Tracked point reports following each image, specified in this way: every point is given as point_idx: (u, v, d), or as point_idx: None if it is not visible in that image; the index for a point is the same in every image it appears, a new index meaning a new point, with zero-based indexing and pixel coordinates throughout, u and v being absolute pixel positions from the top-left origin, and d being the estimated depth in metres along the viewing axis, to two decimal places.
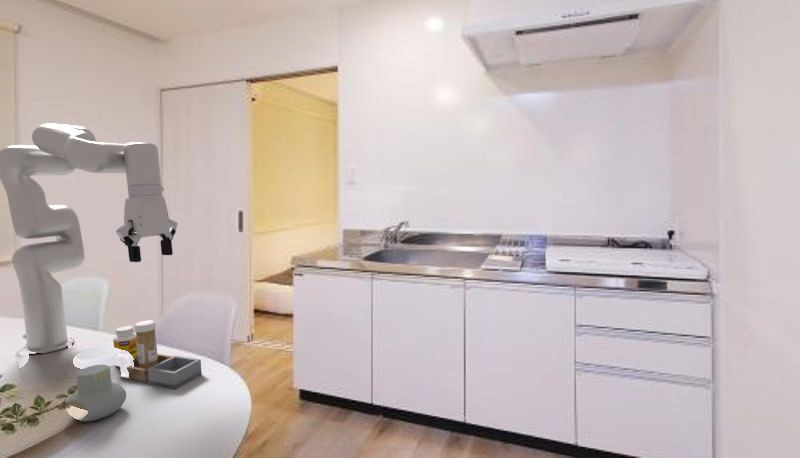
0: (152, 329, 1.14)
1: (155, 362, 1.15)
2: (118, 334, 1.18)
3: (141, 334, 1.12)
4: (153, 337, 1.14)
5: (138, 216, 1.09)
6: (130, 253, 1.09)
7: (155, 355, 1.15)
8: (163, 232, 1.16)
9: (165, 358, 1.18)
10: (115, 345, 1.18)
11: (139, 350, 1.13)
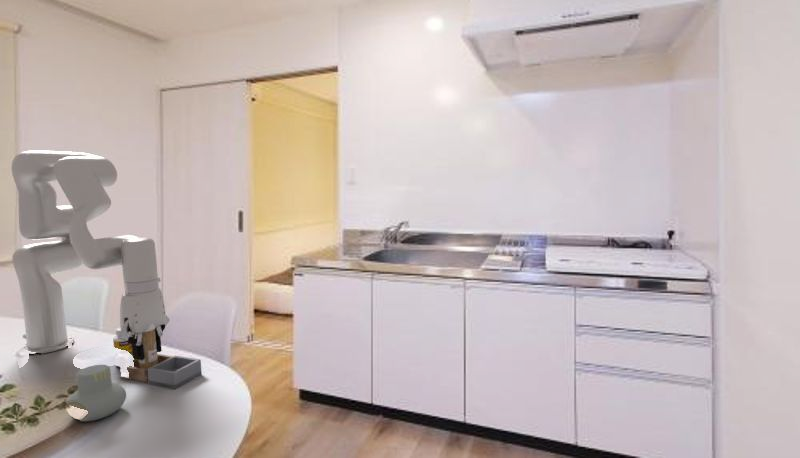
0: (152, 329, 1.14)
1: (155, 362, 1.15)
2: (118, 334, 1.18)
3: None
4: (153, 337, 1.14)
5: (134, 315, 1.09)
6: (134, 351, 1.12)
7: (155, 355, 1.15)
8: (159, 324, 1.16)
9: (165, 358, 1.18)
10: (115, 345, 1.18)
11: None
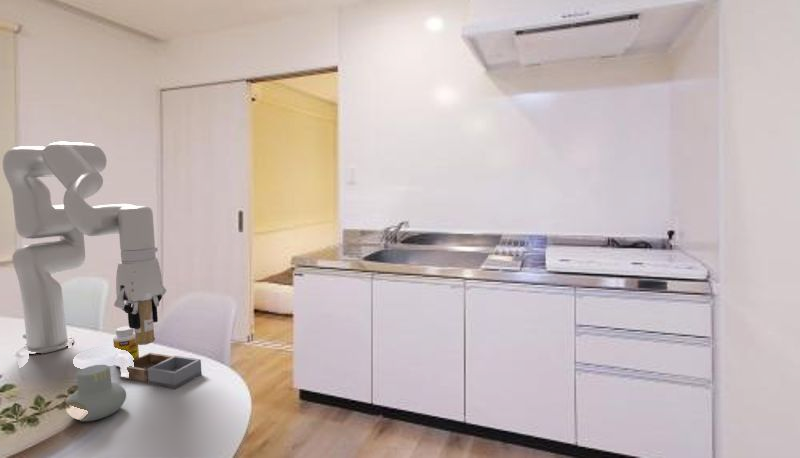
0: (149, 299, 1.13)
1: (151, 332, 1.14)
2: (118, 334, 1.18)
3: (138, 302, 1.11)
4: (149, 306, 1.14)
5: (130, 282, 1.08)
6: (130, 320, 1.11)
7: (151, 325, 1.14)
8: (155, 294, 1.15)
9: (165, 358, 1.18)
10: (115, 345, 1.18)
11: None
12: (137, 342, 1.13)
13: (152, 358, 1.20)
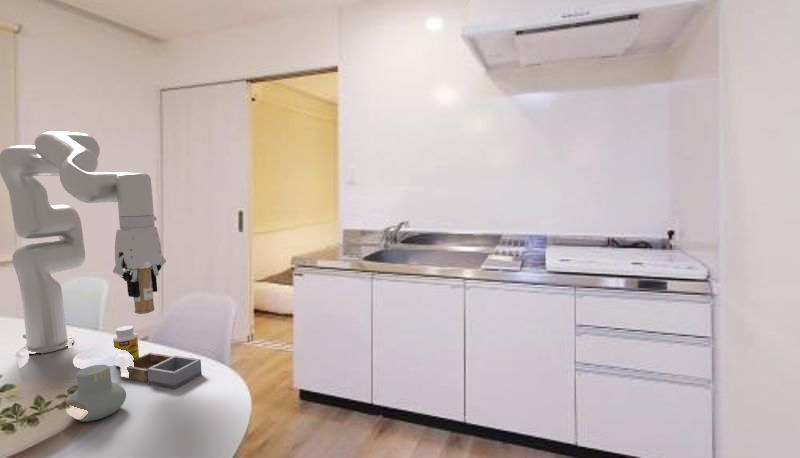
0: (148, 267, 1.12)
1: (151, 301, 1.13)
2: (118, 334, 1.18)
3: None
4: (149, 275, 1.12)
5: (129, 249, 1.07)
6: (129, 288, 1.09)
7: (151, 294, 1.13)
8: (155, 263, 1.14)
9: (165, 358, 1.18)
10: (115, 345, 1.18)
11: None
12: (136, 311, 1.12)
13: (152, 358, 1.20)
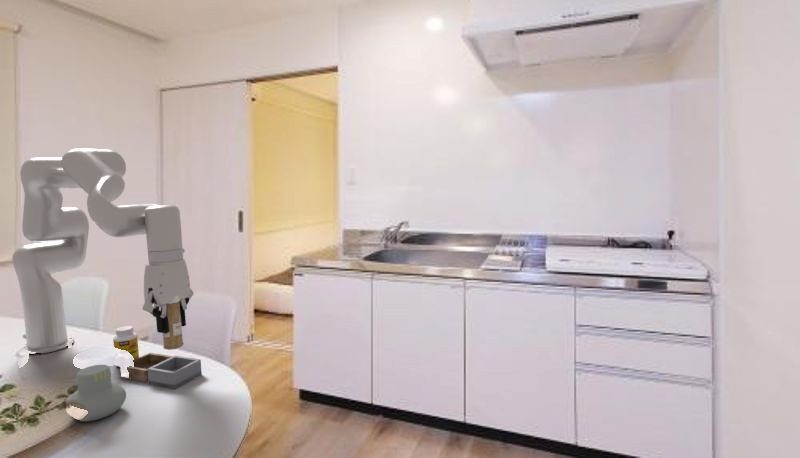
0: (177, 301, 1.08)
1: (180, 336, 1.10)
2: (118, 334, 1.18)
3: None
4: (178, 310, 1.09)
5: (159, 285, 1.04)
6: (158, 324, 1.06)
7: (180, 329, 1.10)
8: (183, 297, 1.11)
9: (165, 358, 1.18)
10: (115, 345, 1.18)
11: None
12: (166, 347, 1.08)
13: (152, 358, 1.20)
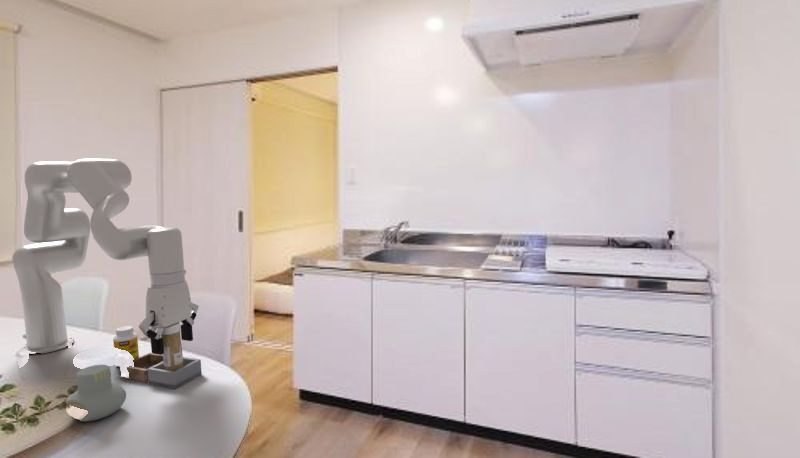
0: (178, 331, 1.09)
1: (181, 365, 1.11)
2: (118, 334, 1.18)
3: (167, 336, 1.07)
4: (178, 339, 1.10)
5: (161, 307, 1.04)
6: (153, 346, 1.05)
7: (181, 357, 1.10)
8: (185, 318, 1.11)
9: None
10: (115, 345, 1.18)
11: (164, 353, 1.08)
12: None
13: (152, 358, 1.20)
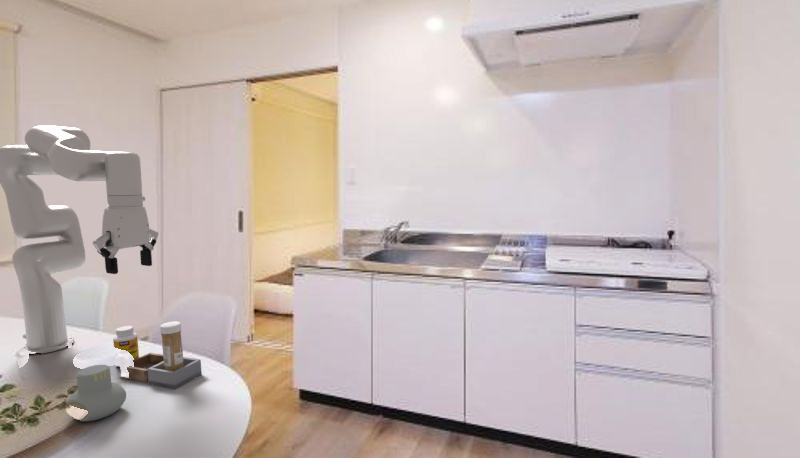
0: (178, 331, 1.09)
1: (181, 365, 1.11)
2: (118, 334, 1.18)
3: (167, 335, 1.08)
4: (179, 339, 1.10)
5: (117, 228, 1.07)
6: (107, 265, 1.07)
7: (181, 357, 1.11)
8: (142, 243, 1.14)
9: None
10: (115, 345, 1.18)
11: (165, 352, 1.09)
12: None
13: (152, 358, 1.20)
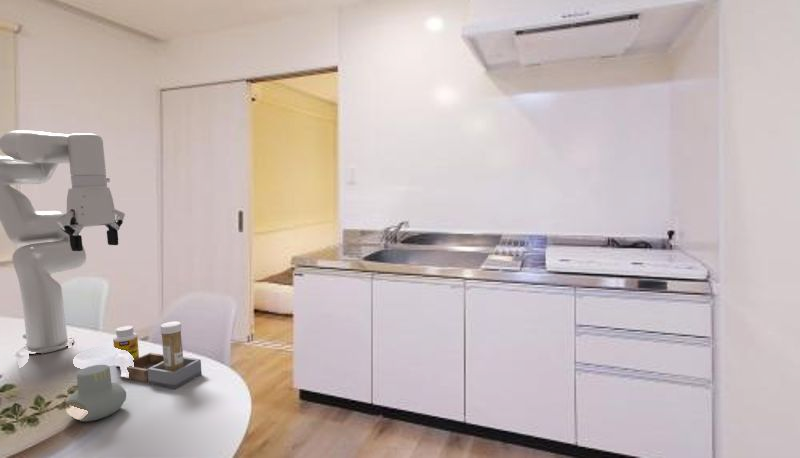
0: (179, 331, 1.09)
1: (181, 365, 1.11)
2: (118, 334, 1.18)
3: (168, 335, 1.08)
4: (179, 339, 1.10)
5: (80, 206, 1.11)
6: (71, 242, 1.11)
7: (181, 357, 1.11)
8: (108, 222, 1.18)
9: None
10: (115, 345, 1.18)
11: (165, 352, 1.09)
12: None
13: (152, 358, 1.20)
